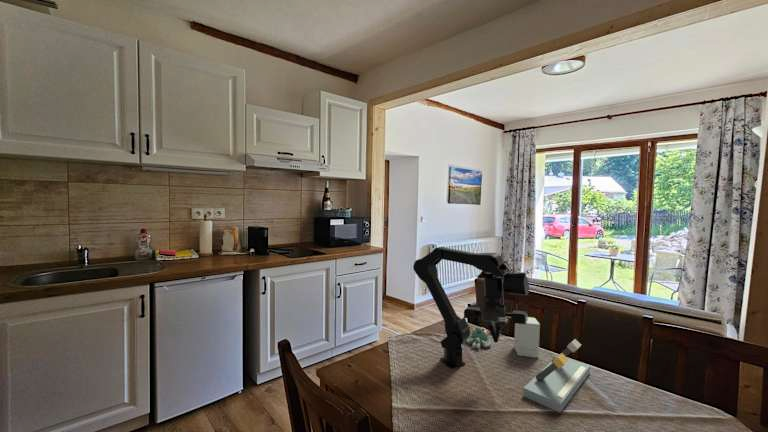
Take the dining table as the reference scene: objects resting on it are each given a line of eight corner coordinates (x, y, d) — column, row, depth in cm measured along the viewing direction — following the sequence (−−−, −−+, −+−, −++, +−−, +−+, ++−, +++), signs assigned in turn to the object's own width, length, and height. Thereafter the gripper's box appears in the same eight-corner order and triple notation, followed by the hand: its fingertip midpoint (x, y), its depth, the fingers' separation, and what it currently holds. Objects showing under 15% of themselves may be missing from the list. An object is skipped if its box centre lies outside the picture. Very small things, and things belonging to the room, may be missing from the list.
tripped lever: (533, 376, 98) (557, 357, 93) (538, 372, 101) (562, 352, 96) (539, 384, 97) (564, 364, 92) (544, 379, 99) (568, 360, 94)
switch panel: (523, 396, 94) (523, 387, 94) (557, 361, 115) (557, 354, 115) (560, 412, 87) (560, 403, 87) (589, 373, 108) (590, 365, 108)
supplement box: (538, 358, 118) (540, 324, 117) (517, 355, 119) (519, 322, 118) (533, 349, 125) (535, 317, 124) (513, 346, 126) (515, 315, 126)
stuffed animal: (461, 334, 124) (468, 318, 135) (461, 350, 126) (468, 333, 136) (490, 340, 119) (494, 323, 130) (490, 357, 121) (494, 339, 131)
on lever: (549, 361, 108) (571, 342, 103) (553, 357, 111) (575, 338, 106) (555, 367, 106) (578, 348, 102) (559, 363, 109) (581, 344, 104)
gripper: (457, 294, 101) (459, 345, 100) (521, 299, 92) (524, 355, 90) (467, 289, 111) (469, 335, 109) (526, 293, 101) (529, 343, 100)
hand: (496, 342), depth 102 cm, fingers closed
